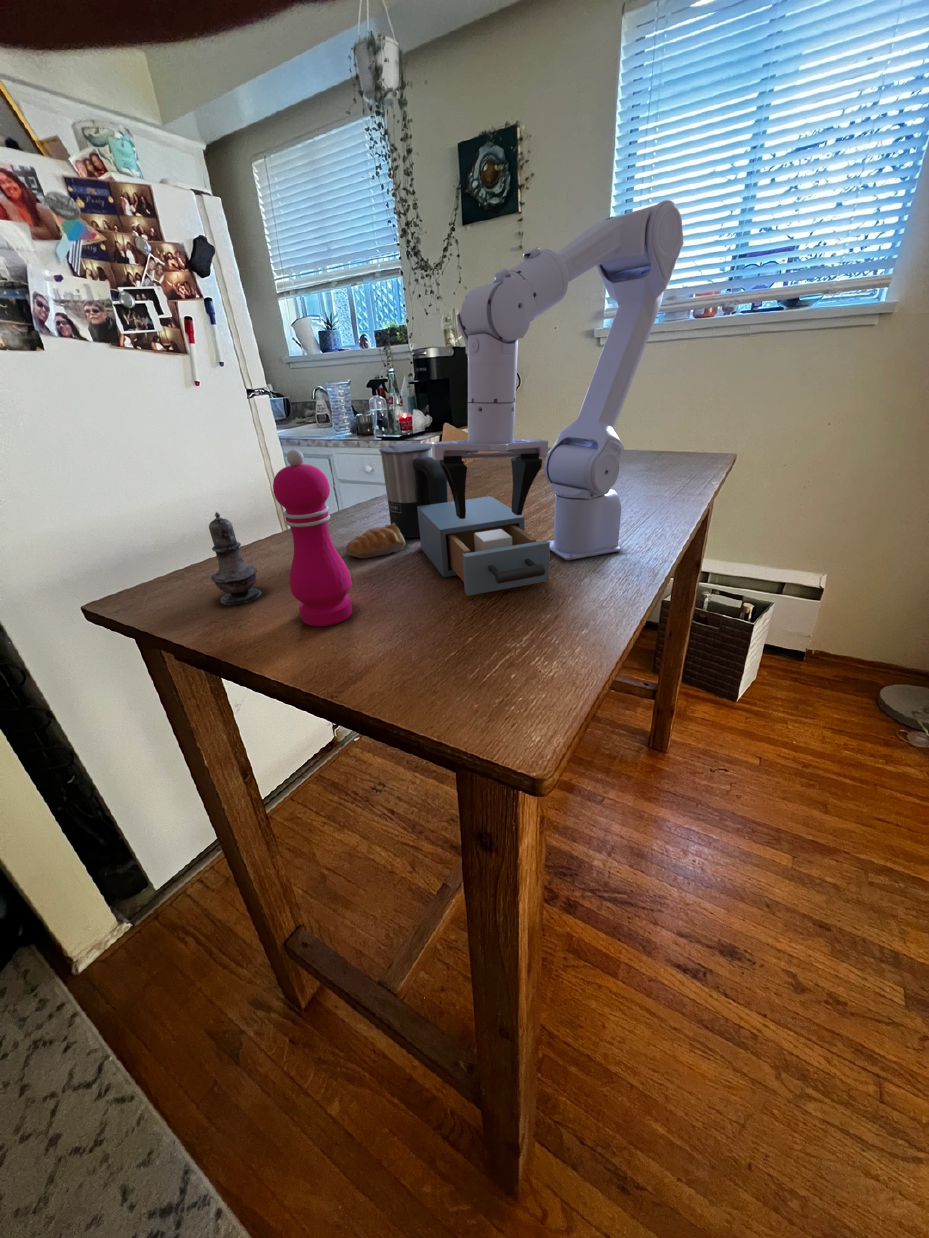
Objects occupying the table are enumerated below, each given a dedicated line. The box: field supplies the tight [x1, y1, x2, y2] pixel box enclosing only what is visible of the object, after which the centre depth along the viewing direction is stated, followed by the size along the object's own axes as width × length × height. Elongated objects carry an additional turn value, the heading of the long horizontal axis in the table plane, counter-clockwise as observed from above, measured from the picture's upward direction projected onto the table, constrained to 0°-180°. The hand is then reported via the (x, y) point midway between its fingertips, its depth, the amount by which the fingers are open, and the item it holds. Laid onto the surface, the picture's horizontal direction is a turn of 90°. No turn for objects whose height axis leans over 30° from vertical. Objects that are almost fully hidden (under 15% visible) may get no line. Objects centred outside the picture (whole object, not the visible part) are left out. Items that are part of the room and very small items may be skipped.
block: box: [474, 529, 512, 552], centre depth 68 cm, size 4×4×4 cm
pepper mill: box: [272, 449, 354, 627], centre depth 58 cm, size 7×7×20 cm
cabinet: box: [417, 495, 526, 578], centre depth 77 cm, size 14×13×7 cm
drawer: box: [445, 524, 551, 597], centre depth 67 cm, size 17×11×5 cm
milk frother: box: [378, 442, 449, 539], centre depth 90 cm, size 14×16×15 cm
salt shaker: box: [208, 511, 262, 606], centre depth 67 cm, size 6×6×12 cm
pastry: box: [345, 523, 406, 559], centre depth 82 cm, size 9×7×4 cm
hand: (489, 515), depth 66 cm, fingers open, 7 cm apart
